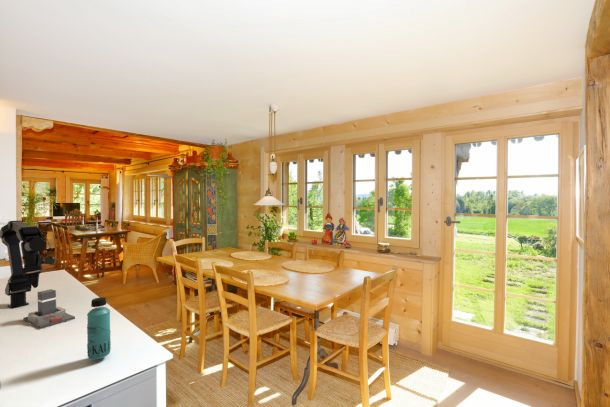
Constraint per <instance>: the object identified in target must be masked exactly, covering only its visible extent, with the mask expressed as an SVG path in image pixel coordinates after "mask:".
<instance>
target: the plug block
mask: <svg viewBox="0 0 610 407" xmlns="http://www.w3.org/2000/svg"><path fill="white" fill-rule="evenodd" d="M36 301H37V311H38V316H42V315H46V314H50V313H54V312H56V307H57V290H56V289H47V290H40V291H37V300H36Z"/></svg>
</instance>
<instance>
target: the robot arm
mask: <svg viewBox="0 0 610 407" xmlns="http://www.w3.org/2000/svg"><path fill="white" fill-rule="evenodd" d="M0 239H1V243H2V244H4V245H5V246H6V249H7V255H8V262H9V268H10V276H9V278H8V280H7V284H6V286H5V289H4V294H5V296H8V297H10V298H9V300H10V302H9V303H10V304H7V307H9V308H11V309H14V308H19V307H23V306H28V305H30V302H27V293H28V292H31V291H32V287H33V289H36V288H38V287H39V281H40V280H39V279H40V275H41V273H42V272H43V271H44V267H43V265H50V266H55V265H56V264H55V263H56V260H57V258H55V257H53V256H52V255H48V256H47V257H44V256H41V254H40V252H41V251H43V250H44V249H45V248H46V245H47V244H46V242H45V241H44V234H43V232H42V231H41V229H40V228H39V227H38V226H37V225H28V224H26V223H25V222H24V221H23V220H20V219H19V220H10V221H9V220H8V222H7V223H6V224H5V225H3V226H2V227H0ZM21 253H22V254H21Z"/></svg>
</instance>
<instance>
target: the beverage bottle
mask: <svg viewBox="0 0 610 407" xmlns="http://www.w3.org/2000/svg"><path fill="white" fill-rule="evenodd" d="M106 305H107V299H106V297H104V296H100V297H96V298H92V299H91V304H90V306H91V307H92V309H91V310H89V312H87V314H86V316H87V325H86V333H87V337H86V338H87V343H86V344H87V345H86V349H87V350H86V351H87V352H86V353H87V358H88V360H100V359H102V358H103V359H104V358H105V357H106V356H108V355H109V354H110V353H111V349H112V347H111V336H112V335H111V309H109V308H108V307H106Z"/></svg>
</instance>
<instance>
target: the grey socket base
mask: <svg viewBox="0 0 610 407" xmlns="http://www.w3.org/2000/svg"><path fill="white" fill-rule="evenodd" d="M66 312H67V310H66V308H63V307H62V306H56V312H54V313H50V314H46V315H42V316H38V310H36V311H31V312H28V314H27V316H24V317H23V318H22V319H23V320H22V321H25V322H26V323H28V324H29V325H32V326H34V327H36V328H38V329H40V330H42V329H46V328H49V327H52V326H56V325H60V324H62V323H65V322H69V321H73V320H75V319H76V316H74V315H73V314H72V315H71V314H70V313H66Z"/></svg>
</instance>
